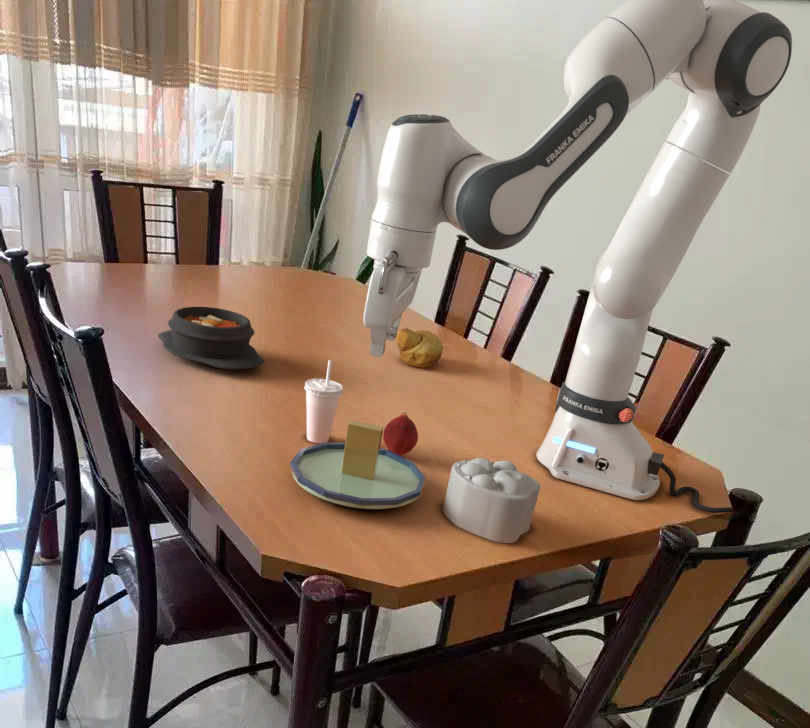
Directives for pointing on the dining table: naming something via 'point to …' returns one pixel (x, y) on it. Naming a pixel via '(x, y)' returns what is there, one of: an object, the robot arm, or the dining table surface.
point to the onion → (400, 434)
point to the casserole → (211, 338)
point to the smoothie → (321, 406)
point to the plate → (355, 485)
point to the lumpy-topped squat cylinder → (491, 499)
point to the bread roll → (419, 347)
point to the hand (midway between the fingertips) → (383, 346)
